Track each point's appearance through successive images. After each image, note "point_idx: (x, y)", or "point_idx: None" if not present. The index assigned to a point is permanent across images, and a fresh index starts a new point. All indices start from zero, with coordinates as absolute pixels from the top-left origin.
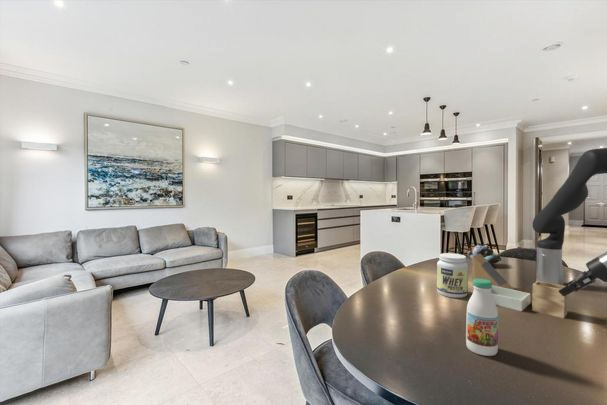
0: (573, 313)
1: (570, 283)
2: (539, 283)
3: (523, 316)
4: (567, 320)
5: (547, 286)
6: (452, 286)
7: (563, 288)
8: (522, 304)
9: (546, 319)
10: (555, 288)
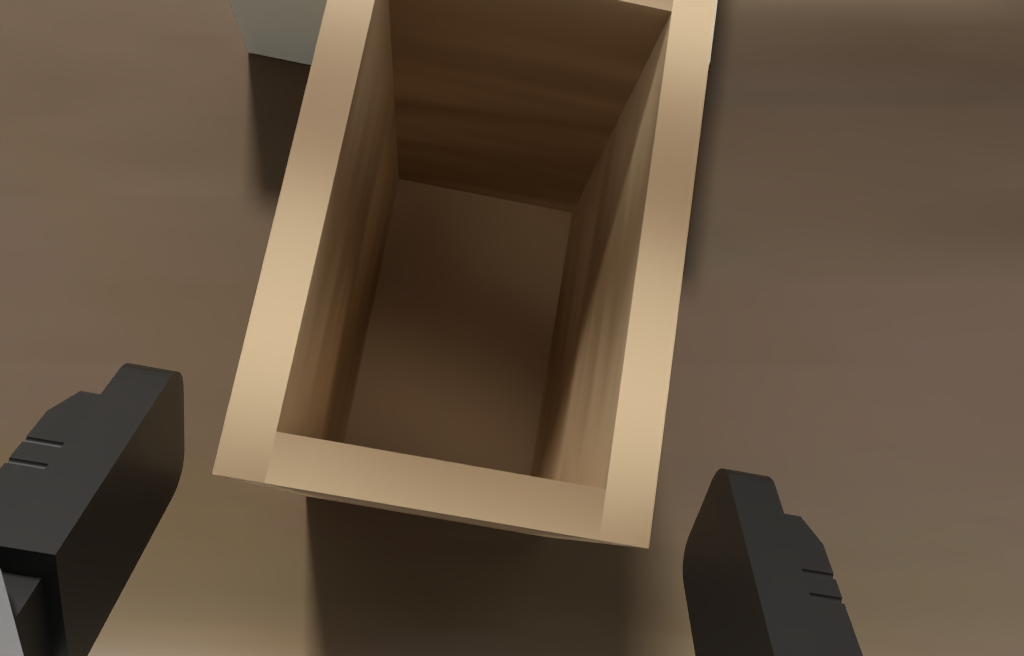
0: (605, 610)
1: (740, 612)
2: (657, 46)
3: (56, 74)
4: (238, 536)
5: (632, 194)
6: None
7: (63, 446)
8: (271, 10)
9: (110, 309)
10: (264, 302)
